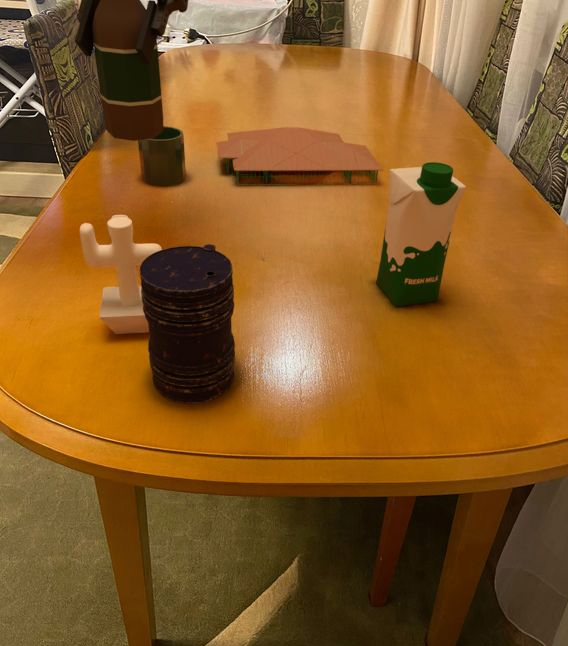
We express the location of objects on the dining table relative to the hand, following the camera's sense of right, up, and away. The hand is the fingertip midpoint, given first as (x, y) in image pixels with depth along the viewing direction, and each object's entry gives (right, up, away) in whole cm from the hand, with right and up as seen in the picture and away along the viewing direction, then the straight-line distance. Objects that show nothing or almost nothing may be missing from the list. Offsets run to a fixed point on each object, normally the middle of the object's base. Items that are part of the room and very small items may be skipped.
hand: (112, 52), depth 73 cm
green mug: (-6, -1, +49) cm, 49 cm away
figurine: (0, -33, +7) cm, 34 cm away
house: (+21, +4, +58) cm, 62 cm away
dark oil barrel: (+10, -40, -1) cm, 41 cm away
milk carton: (+39, -28, +18) cm, 51 cm away
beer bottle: (0, -7, +9) cm, 11 cm away
